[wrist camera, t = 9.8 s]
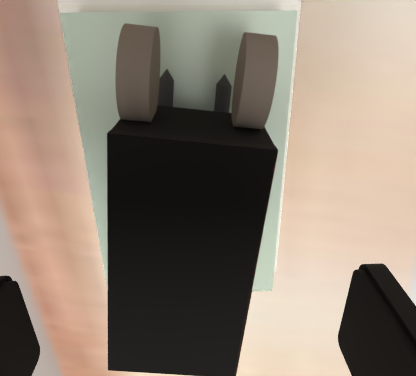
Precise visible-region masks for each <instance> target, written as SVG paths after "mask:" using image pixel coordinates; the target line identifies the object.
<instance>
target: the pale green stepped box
mask: <svg viewBox="0 0 416 376" xmlns="http://www.w3.org/2000/svg"><path fill="white" fill-rule="evenodd" d="M57 2H58V8H59V14H60V20H61V26H62V31H63V37H64V43H65V49H66V54H67V60H68V66H69V72H70V78H71V83H72V89H73V95H74V101H75V106H76V112H77V118H78V124H79V129H80V135H81V141H82V147H83V153H84V158H85V164H86V170H87V176H88V181H89V187H90V193H91V199H92V205H93V210H94V216H95V222H96V228H97V233H98V239H99V245H100V251H101V256H102V262H103V268H104V274H105V280H106V284H107V289H108V242H107V133H108V132H109V131H110V130H111V129H112V128H113V127H114V126H115V125H116V123H117V122H118V121H119V120H120V117H119V114H118V109H117V101H116V84H115V75H116V56H117V47H118V41H119V36H120V32H121V29H122V26H123V25H124V24H125V23H127V24H136V25H145V26H153V27H158V29H159V33H160V77H161V76H162V75H163V73H164V72H165V71H166V69H168V71H169V73H170V74H171V76H172V78H173V79H174V92H173V107H178V108H188V109H198V110H207V111H214V106H215V94H216V84H217V83H218V82H219V80H220V79H221V78H222V77H223V75H224V74H225V75H226V77H227V79H228V81H229V82H230V84H231V86H232V89H231V99H230V109H229V113H232V98H233V88H234V79H235V71H236V65H237V59H238V53H239V48H240V44H241V40H242V36H243V34H244V32H249V33H258V34H266V35H275V36H276V37H277V39H278V48H279V55H278V70H277V78H276V85H275V91H274V97H273V101H272V106H271V109H270V113H269V116H268V119H267V122H266V124H265V126H264V127H265V128H266V130H267V132H268V134H269V136H270V138H271V140H272V141H273V143H274V145H275V146H276V147H277V149H278V155H277V160H276V166H275V171H274V176H273V182H272V187H271V192H270V198H269V203H268V208H267V213H266V219H265V224H264V229H263V235H262V240H261V245H260V251H259V256H258V261H257V267H256V272H255V277H254V283H253V288H252V291H272V286H273V275H274V273H276V265H277V255H278V244H279V233H280V223H281V212H282V201H283V191H284V180H285V169H286V159H287V148H288V137H289V127H290V116H291V105H292V95H293V84H294V73H295V63H296V52H297V42H298V31H299V20H300V10H301V0H57ZM157 105H158V103H157Z"/></svg>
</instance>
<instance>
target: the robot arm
mask: <svg viewBox="0 0 416 376" xmlns="http://www.w3.org/2000/svg"><path fill="white" fill-rule="evenodd" d="M338 342H339V346H340V349H341V351H342V354H343V356H344V358H345V361H346V363H347V365H348V368H349V370H350V372H351V375H352V376H416V306H415V304H414V303H413V302H412V300H411V299H410V298H409V296H408V295H407V294H406V292H405V291H404V290H403V288H402V287H401V286H400V284H399V283H398V282H397V280H396V279H395V277H394V276H393V275H392V273H391V272H390V271H389V269H388V268H387V267H386V266H385V265H384V264H362V265H361V266H360V267H359V269H358V270H355V271H354V272H353V275H352V279H351V284H350V288H349V292H348V296H347V300H346V304H345V309H344V313H343V317H342V321H341V325H340V329H339V334H338ZM39 355H40V346H39V343H38V340H37V337H36V334H35V332H34V328H33V325H32V323H31V320H30V317H29V314H28V311H27V308H26V305H25V302H24V299H23V296H22V293H21V290H20V288H19V285H18V283H17V282H16V281H12V279H11V277H9V276H0V376H32V373H33V371H34V369H35V366H36V364H37V362H38V359H39Z"/></svg>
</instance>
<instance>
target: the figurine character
mask: <svg viewBox="0 0 416 376" xmlns="http://www.w3.org/2000/svg"><path fill="white" fill-rule="evenodd" d="M278 55H279V48H278V39H277V37H276V36H275V35H266V34H258V33H249V32H244V34H243V36H242V40H241V44H240V48H239V53H238V59H237V65H236V71H235V79H234V88H233V98H232V113H229V109H230V99H231V89H232V86H231V84H230V82H229V81H228V79H227V77H226V75H225V74H224V75H223V77H222V78H221V79H220V80H219V82H218V83H217V84H216V94H215V106H214V111H207V110H198V109H188V108H178V107H173V92H174V79H173V78H172V76H171V74H170V73H169V71H168V69H166V71H165V72H164V73H163V75H162V76H161V77H160V33H159V29H158V27H153V26H145V25H136V24H127V23H125V24H124V25H123V26H122V29H121V32H120V36H119V41H118V47H117V56H116V75H115V84H116V101H117V109H118V114H119V117H120V120H119V121H118V122H117V123H116V125H115V126H114V127H113V128H112V129H111V130H110V131H109V132H108V133H107V242H108V370H112V371H128V372H145V373H161V374H177V375H193V376H236V373H237V367H238V362H239V357H240V352H241V346H242V341H243V336H244V330H245V325H246V320H247V314H248V309H249V304H250V298H251V293H252V288H253V283H254V277H255V272H256V267H257V261H258V256H259V251H260V245H261V240H262V235H263V229H264V224H265V219H266V213H267V208H268V203H269V198H270V192H271V187H272V182H273V176H274V171H275V166H276V160H277V155H278V149H277V147H276V146H275V145H274V143H273V141H272V140H271V138H270V136H269V134H268V132H267V130H266V128H265V127H264V126H265V124H266V122H267V119H268V116H269V113H270V109H271V106H272V101H273V97H274V91H275V85H276V78H277V70H278ZM157 103H158V105H157Z"/></svg>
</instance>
